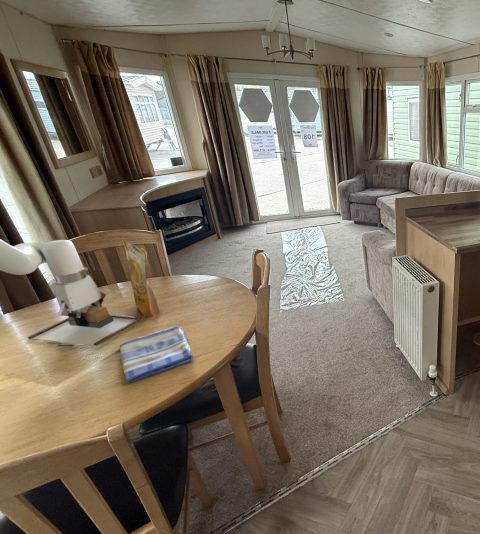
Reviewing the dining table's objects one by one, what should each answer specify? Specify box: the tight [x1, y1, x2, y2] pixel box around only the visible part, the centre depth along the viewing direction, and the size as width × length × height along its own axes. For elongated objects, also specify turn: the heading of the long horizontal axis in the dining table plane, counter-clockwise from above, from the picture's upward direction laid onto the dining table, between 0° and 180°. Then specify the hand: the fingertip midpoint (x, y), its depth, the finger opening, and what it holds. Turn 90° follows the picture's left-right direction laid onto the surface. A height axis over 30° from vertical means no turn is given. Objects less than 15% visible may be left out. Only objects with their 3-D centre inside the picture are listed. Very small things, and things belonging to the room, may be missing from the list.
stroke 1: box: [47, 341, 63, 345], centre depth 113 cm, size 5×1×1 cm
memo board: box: [27, 313, 144, 347], centre depth 121 cm, size 26×17×2 cm, turn 83°
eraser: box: [67, 305, 114, 328], centre depth 121 cm, size 12×5×6 cm, turn 83°
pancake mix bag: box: [121, 239, 160, 317], centre depth 129 cm, size 7×19×28 cm, turn 51°
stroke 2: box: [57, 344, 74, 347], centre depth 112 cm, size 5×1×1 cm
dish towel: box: [119, 325, 194, 384], centre depth 110 cm, size 17×24×3 cm
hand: (91, 321), depth 122 cm, fingers closed on eraser, 5 cm apart
